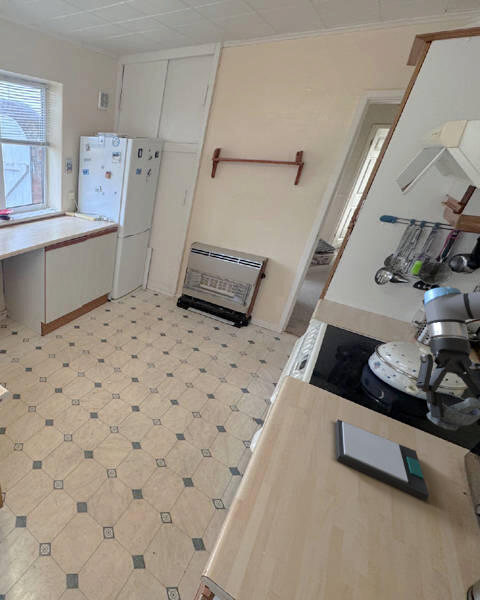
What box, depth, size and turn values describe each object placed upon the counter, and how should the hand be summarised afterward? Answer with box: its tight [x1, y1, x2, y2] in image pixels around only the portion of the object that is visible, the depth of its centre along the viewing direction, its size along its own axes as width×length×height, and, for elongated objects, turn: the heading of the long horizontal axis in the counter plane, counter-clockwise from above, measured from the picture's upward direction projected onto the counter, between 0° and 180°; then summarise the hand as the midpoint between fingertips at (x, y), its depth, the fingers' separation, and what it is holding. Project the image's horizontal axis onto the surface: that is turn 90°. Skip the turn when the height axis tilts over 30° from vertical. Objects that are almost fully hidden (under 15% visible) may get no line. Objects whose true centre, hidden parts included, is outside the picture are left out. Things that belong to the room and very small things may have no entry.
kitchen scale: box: [334, 419, 430, 502], centre depth 88 cm, size 18×16×3 cm
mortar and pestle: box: [426, 390, 480, 431], centre depth 87 cm, size 11×9×12 cm
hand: (460, 421), depth 85 cm, fingers closed on mortar and pestle, 10 cm apart
